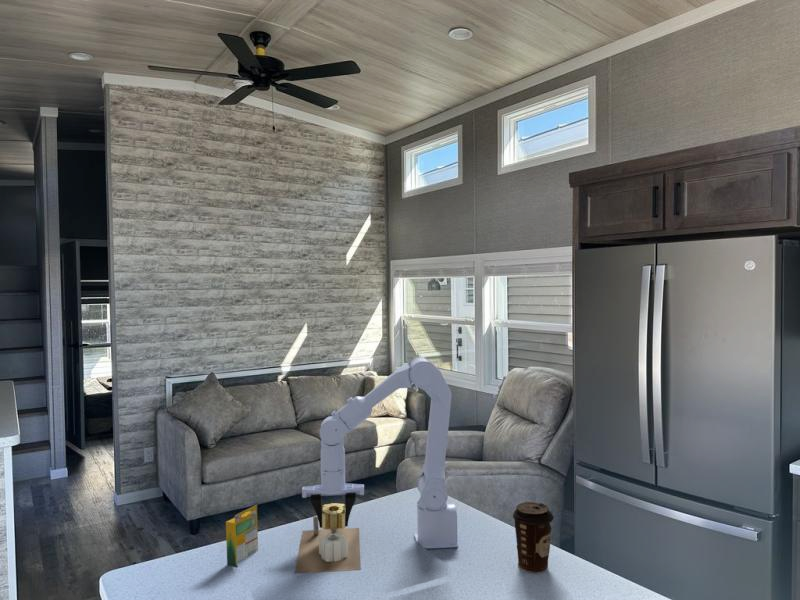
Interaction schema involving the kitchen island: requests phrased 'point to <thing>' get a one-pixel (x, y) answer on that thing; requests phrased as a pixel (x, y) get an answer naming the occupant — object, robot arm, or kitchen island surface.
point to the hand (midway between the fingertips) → (333, 525)
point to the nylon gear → (333, 547)
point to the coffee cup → (533, 536)
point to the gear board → (312, 559)
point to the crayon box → (242, 536)
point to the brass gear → (333, 516)
